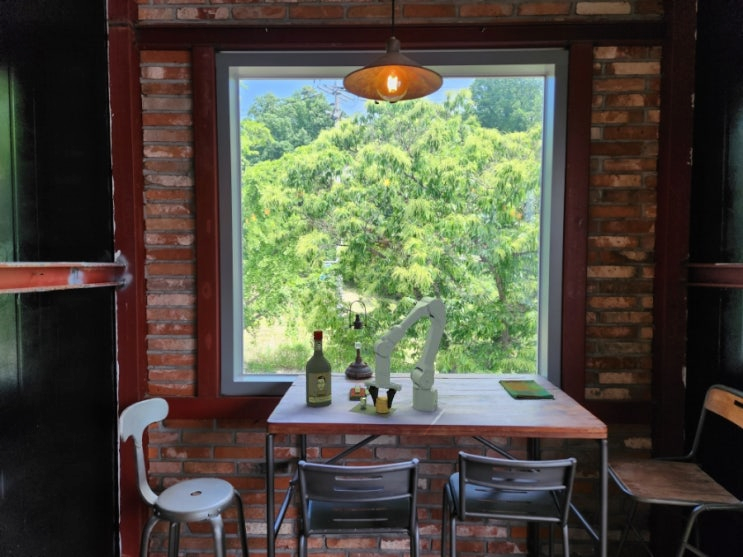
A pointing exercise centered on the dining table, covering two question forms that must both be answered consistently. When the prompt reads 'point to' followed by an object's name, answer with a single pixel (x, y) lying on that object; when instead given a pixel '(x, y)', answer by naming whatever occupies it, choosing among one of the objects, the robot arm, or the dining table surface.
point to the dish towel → (525, 389)
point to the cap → (382, 405)
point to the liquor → (318, 376)
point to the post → (363, 403)
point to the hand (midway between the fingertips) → (382, 406)
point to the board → (371, 411)
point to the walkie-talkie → (358, 393)
